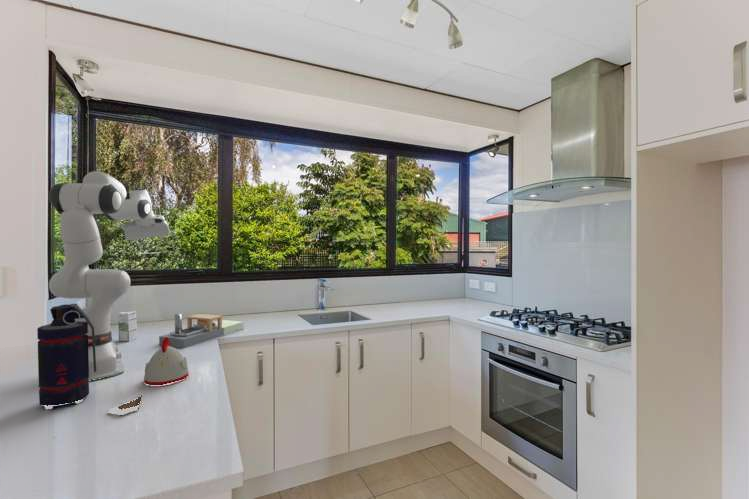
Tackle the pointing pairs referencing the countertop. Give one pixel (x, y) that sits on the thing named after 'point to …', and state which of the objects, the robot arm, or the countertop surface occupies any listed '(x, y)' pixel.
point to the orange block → (203, 322)
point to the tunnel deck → (196, 338)
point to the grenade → (64, 356)
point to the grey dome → (166, 366)
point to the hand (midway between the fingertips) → (150, 244)
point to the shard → (131, 404)
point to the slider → (179, 329)
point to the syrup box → (127, 325)
